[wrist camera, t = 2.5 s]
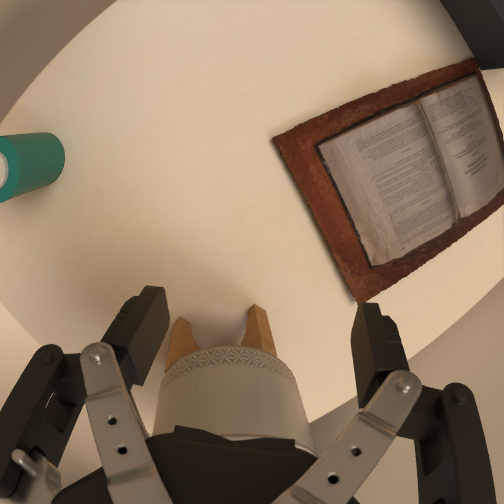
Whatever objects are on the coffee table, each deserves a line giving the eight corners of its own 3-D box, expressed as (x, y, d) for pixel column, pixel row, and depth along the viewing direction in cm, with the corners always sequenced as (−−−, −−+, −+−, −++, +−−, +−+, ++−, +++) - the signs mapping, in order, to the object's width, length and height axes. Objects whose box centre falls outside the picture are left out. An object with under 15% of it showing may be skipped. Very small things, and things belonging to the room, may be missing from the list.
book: (512, 193, 33) (535, 199, 28) (355, 304, 35) (370, 323, 30) (463, 52, 27) (486, 45, 23) (269, 139, 29) (277, 136, 25)
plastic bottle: (16, 167, 26) (-37, 183, 18) (38, 123, 25) (-15, 125, 17) (49, 194, 28) (0, 218, 19) (73, 149, 27) (25, 158, 18)
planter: (240, 401, 39) (253, 521, 22) (150, 358, 35) (122, 488, 19) (305, 333, 36) (356, 459, 19) (208, 276, 32) (202, 412, 16)
